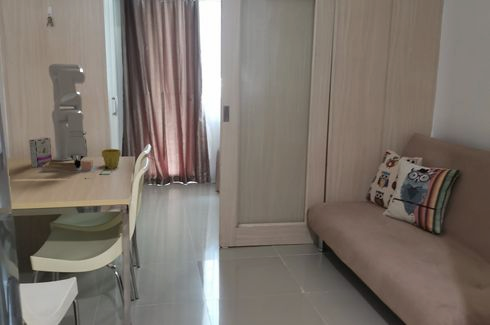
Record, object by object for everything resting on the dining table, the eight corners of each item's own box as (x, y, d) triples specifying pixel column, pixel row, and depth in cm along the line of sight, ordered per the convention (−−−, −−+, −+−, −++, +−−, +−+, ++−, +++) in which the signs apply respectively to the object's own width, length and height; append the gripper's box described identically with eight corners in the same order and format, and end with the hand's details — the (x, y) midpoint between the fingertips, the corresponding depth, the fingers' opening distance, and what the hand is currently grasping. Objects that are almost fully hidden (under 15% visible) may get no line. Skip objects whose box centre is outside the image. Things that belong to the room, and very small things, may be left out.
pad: (98, 172, 240) (98, 170, 240) (111, 171, 241) (111, 170, 241) (96, 174, 233) (96, 173, 233) (109, 174, 234) (109, 173, 234)
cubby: (48, 168, 242) (47, 162, 241) (80, 167, 244) (79, 162, 244) (42, 171, 232) (42, 166, 232) (75, 171, 235) (75, 165, 234)
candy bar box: (45, 165, 256) (43, 137, 253) (52, 165, 254) (50, 137, 251) (30, 168, 246) (28, 139, 243) (37, 169, 244) (35, 140, 241)
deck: (47, 168, 247) (47, 166, 246) (100, 167, 251) (100, 165, 250) (36, 175, 229) (36, 173, 229) (94, 174, 233) (94, 172, 233)
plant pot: (115, 169, 247) (115, 152, 246) (99, 168, 249) (98, 151, 248) (124, 165, 257) (123, 149, 256) (108, 164, 259) (107, 148, 258)
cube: (83, 168, 241) (83, 159, 240) (93, 168, 242) (92, 159, 241) (81, 170, 237) (81, 161, 236) (91, 170, 237) (90, 161, 236)
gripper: (91, 133, 240) (93, 166, 244) (63, 133, 238) (65, 166, 242) (88, 135, 233) (90, 168, 236) (59, 135, 231) (61, 169, 234)
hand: (77, 167), depth 239 cm, fingers closed
